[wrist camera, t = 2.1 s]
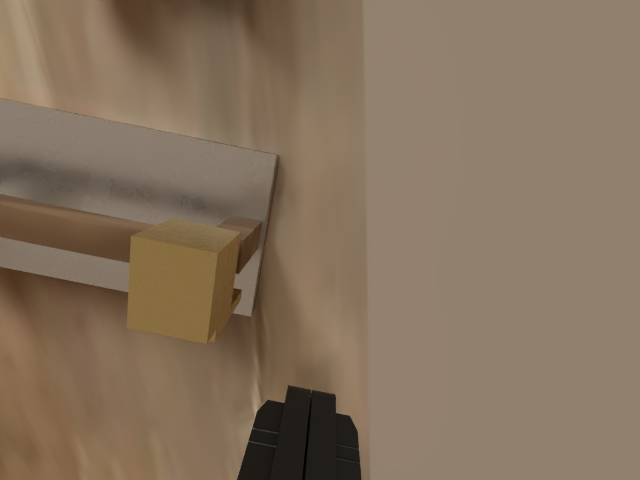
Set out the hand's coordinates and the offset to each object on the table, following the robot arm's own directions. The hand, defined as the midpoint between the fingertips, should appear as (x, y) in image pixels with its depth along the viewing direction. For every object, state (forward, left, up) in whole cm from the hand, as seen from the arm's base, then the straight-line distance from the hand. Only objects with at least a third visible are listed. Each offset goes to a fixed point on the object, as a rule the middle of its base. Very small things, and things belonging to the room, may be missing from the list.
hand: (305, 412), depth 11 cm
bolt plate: (0, -19, -19) cm, 27 cm away
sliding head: (0, -7, -17) cm, 19 cm away
